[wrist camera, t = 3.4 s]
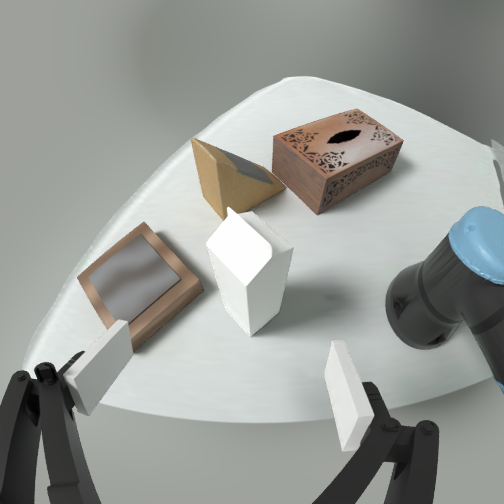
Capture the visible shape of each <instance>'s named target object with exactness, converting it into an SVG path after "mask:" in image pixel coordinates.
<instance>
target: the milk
mask: <svg viewBox="0 0 504 504" xmlns="http://www.w3.org/2000/svg"><path fill="white" fill-rule="evenodd" d="M227 213H228V217H227V218H226V219H225V220H224V222H223V223H222V224H221V225H220V227H219V228H218V229H217V230H216V232H215V233H214V234H213V235H212V236H211V238H210V239H209V240H208V242H207V243H206V245H207V249H208V253H209V256H210V260H211V263H212V266H213V270H214V273H215V277H216V280H217V283H218V287H219V290H220V293H221V297H222V300H223V303H224V307H225V309H226V311H227V312H228V313H229V314H230V315H231V316H232V317H233V318H234V320H235V321H236V322H237V323H238V324H239V325H240V326H241V327H242V328H243V329H244V331H245V332H246V333H247V334H248V335H249V336H250V337H251V336H252V335H253V334H255V333H256V332H257V331H258V330H259V329H260V328H262V327H263V326H264V325H265V324H266V323H267V322H269V321H270V320H271V319H272V318H273V317H274V316H276V315H277V314H278V313H279V311H280V306H281V302H282V298H283V293H284V289H285V285H286V280H287V276H288V271H289V267H290V262H291V257H292V253H293V247H292V246H291V245H290V244H289V243H288V242H287V241H286V240H284V239H283V238H282V237H281V236H280V235H279V234H278V233H277V232H275V231H274V230H273V229H272V228H271V227H270V226H269V225H267V224H266V223H265V222H264V221H263V220H262V219H261V218H259V217H258V216H257V215H256V214H255V213H254V212H252V211H251V212H245V213H240V214H236V213H235V212H234V211H233V210H232V209H231V208H230V207H227Z"/></svg>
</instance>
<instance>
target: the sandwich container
mask: <svg viewBox="0 0 504 504" xmlns="http://www.w3.org/2000/svg"><path fill="white" fill-rule="evenodd" d="M191 142H192V147H193V152H194V157H195V162H196V166H197V171H198V175H199V180H200V184H201V189H202V193H203V197H204V198H205V199H206V201H207V202H208V203H209V204H210V205H211V207H212V208H213V209H214V210H215V211H216V213H217V214H218V215H219V216H220V217H221V218H222V220H223V221H224V220H225V219H226V218H227V217H228V213H227V207H230V208H231V209H232V210H233V211H234V212H235V213H236V214H240V213H243V212H245V211H247V210H249V209H250V208H252V207H254V206H256V205H257V204H259V203H261V202H263V201H264V200H266V199H268V198H270V197H271V196H273V195H275V194H277V193H278V192H280V191H282V190H284V189H286V188H287V187H286V186H285V185H284V184H283V183H282V182H281V181H280V180H279V179H278V178H276V177H275V176H274V175H273V174H272V173H271V172H269V171H268V170H267V169H266V168H264V167H262V166H260V165H258V164H255V163H253V162H250V161H248V160H246V159H243V158H241V157H239V156H236V155H234V154H232V153H229V152H227V151H224V150H222V149H219V148H217V147H215V146H212V145H210V144H207V143H205V142H202V141H200V140H197V139H195V138H191Z"/></svg>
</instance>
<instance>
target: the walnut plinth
mask: <svg viewBox="0 0 504 504" xmlns="http://www.w3.org/2000/svg"><path fill="white" fill-rule="evenodd" d="M77 279H78V280H79V282H80V284H81V286H82V288H83V290H84V291H85V293H86V295H87V297H88V299H89V300H90V302H91V304H92V305H93V307H94V309H95V310H96V312H97V314H98V315H99V317H100V319H101V320H102V322H103V323H104V325H105V327H106V328H107V330H108V329H109V328H110V327H111V326H112V325H113V324H114V323H115V322H116V321H117V320H118V319H119V320H124V321H128V325H129V332H130V338H131V344H132V349H133V352H134V351H135V350H136V349H137V348H138V347H139V346H140V345H142V344H143V343H144V342H145V341H146V340H147V339H148V338H150V337H151V336H152V335H153V334H154V333H155V332H156V331H158V330H159V329H160V328H161V327H162V326H163V325H164V324H166V323H167V322H168V321H169V320H170V319H171V318H173V317H174V316H175V315H176V314H177V313H178V312H179V311H181V310H182V309H183V308H184V307H185V306H186V305H187V304H189V303H190V302H191V301H192V300H193V299H194V298H195V297H197V296H198V295H199V294H200V293H201V292H202V291H203V287H202V285H201V283H200V280H199V279H198V278H197V277H196V276H195V275H194V274H193V273H192V272H191V271H190V270H189V269H188V268H187V267H186V266H185V265H184V264H183V263H182V261H181V260H180V259H179V258H178V257H177V256H176V255H175V254H174V253H173V252H172V251H171V250H170V249H169V248H168V247H167V246H166V245H165V244H164V243H163V241H162V240H161V239H160V238H159V237H158V236H157V235H156V234H155V233H154V232H153V231H152V230H151V229H150V227H149V226H148V225H147V224H146V223H145V222H143V223H141V224H140V225H139V226H137V227H136V228H135V229H134V230H132V231H131V232H130V233H129V234H127V235H126V236H125V237H124V238H122V239H121V240H120V241H119V242H117V243H116V244H115V245H114V246H113V247H111V248H110V249H109V250H108V251H106V252H105V253H104V254H103V255H102V256H101V257H99V258H98V259H97V260H96V261H95V262H94V263H92V264H91V265H90V266H89V267H88V268H87V269H86V270H84V271H83V272H82V273H81V274H80V275H79V276H78V277H77Z"/></svg>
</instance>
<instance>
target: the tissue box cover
mask: <svg viewBox="0 0 504 504" xmlns="http://www.w3.org/2000/svg"><path fill="white" fill-rule="evenodd" d="M348 139H349V140H348ZM343 141H344V142H343ZM403 141H404V140H402V139H401V138H400V137H398V136H397V135H395V134H394V133H393V132H391V131H390V130H389V129H387V128H386V127H384V126H383V125H381V124H380V123H378V122H377V121H376V120H374V119H373V118H371V117H369V116H368V115H366V114H365V113H363V112H362V111H360V110H359V109H353V110H350V111H346V112H343V113H340V114H336V115H333V116H330V117H327V118H324V119H320V120H317V121H314V122H311V123H308V124H305V125H303V126H300V127H297V128H294V129H291V130H288V131H286V132H283V133H280V134H277V135H275V136H273V158H272V173H273V174H274V175H275V176H277V177H278V178H279V179H280V180H281V181H282V182H283V183H284V184H285V185H286V186H287V187H288V188H289V189H290V190H291V191H293V192H294V193H295V194H296V195H297V196H298V197H299V198H300V199H301V200H302V201H303V202H304V203H305V204H306V205H307V206H308V207H309V208H310V209H311V210H312V211H313V212H314V213H315V214H316V215H318V214H320V213H322V212H323V211H325V210H327V209H328V208H330V207H332V206H333V205H335V204H337V203H339V202H340V201H342V200H344V199H345V198H347V197H349V196H350V195H352V194H354V193H355V192H357V191H359V190H360V189H362V188H364V187H365V186H367V185H369V184H370V183H372V182H374V181H375V180H377V179H379V178H381V177H382V176H384V175H386V174H387V173H389V172H391V170H392V168H393V165H394V163H395V161H396V158H397V156H398V154H399V151H400V149H401V146H402V144H403ZM338 143H339V144H338Z"/></svg>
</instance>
